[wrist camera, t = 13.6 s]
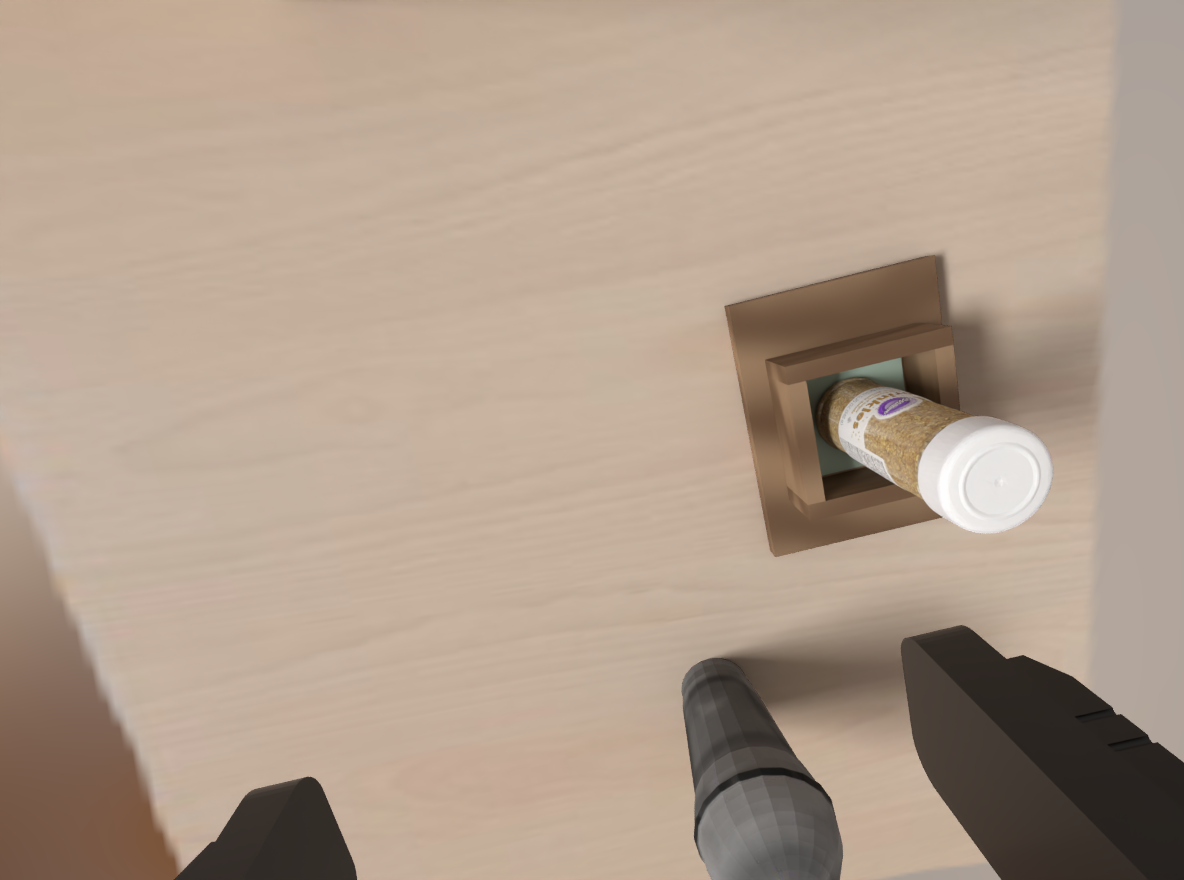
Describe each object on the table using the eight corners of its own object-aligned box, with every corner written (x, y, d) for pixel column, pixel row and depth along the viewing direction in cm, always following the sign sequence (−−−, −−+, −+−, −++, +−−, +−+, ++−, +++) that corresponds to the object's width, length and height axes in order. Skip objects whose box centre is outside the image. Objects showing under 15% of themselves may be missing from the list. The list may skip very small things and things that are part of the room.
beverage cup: (673, 633, 42) (763, 934, 22) (778, 647, 42) (955, 954, 23) (651, 725, 43) (718, 1082, 24) (753, 739, 44) (898, 1097, 24)
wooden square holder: (724, 306, 37) (745, 308, 32) (925, 256, 36) (973, 251, 32) (770, 550, 40) (794, 582, 36) (952, 507, 40) (998, 533, 36)
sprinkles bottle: (857, 360, 36) (1017, 400, 23) (902, 416, 37) (1081, 484, 24) (797, 412, 37) (919, 480, 24) (842, 466, 38) (985, 559, 25)
